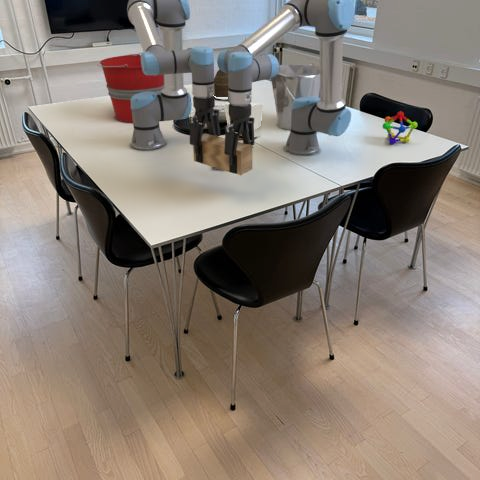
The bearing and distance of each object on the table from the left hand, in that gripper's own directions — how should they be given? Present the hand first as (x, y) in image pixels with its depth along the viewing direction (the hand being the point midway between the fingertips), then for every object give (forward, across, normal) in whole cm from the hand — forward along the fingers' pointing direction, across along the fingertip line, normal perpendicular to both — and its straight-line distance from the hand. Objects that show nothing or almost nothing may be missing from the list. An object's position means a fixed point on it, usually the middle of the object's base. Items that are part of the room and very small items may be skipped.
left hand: (206, 158), depth 164 cm
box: (+1, 0, -8) cm, 8 cm away
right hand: (0, 0, -16) cm, 16 cm away
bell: (+11, +108, +76) cm, 132 cm away
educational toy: (+11, +90, -41) cm, 100 cm away
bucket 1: (+11, +46, +89) cm, 101 cm away
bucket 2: (+11, +85, +11) cm, 86 cm away
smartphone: (+11, +21, +9) cm, 25 cm away
